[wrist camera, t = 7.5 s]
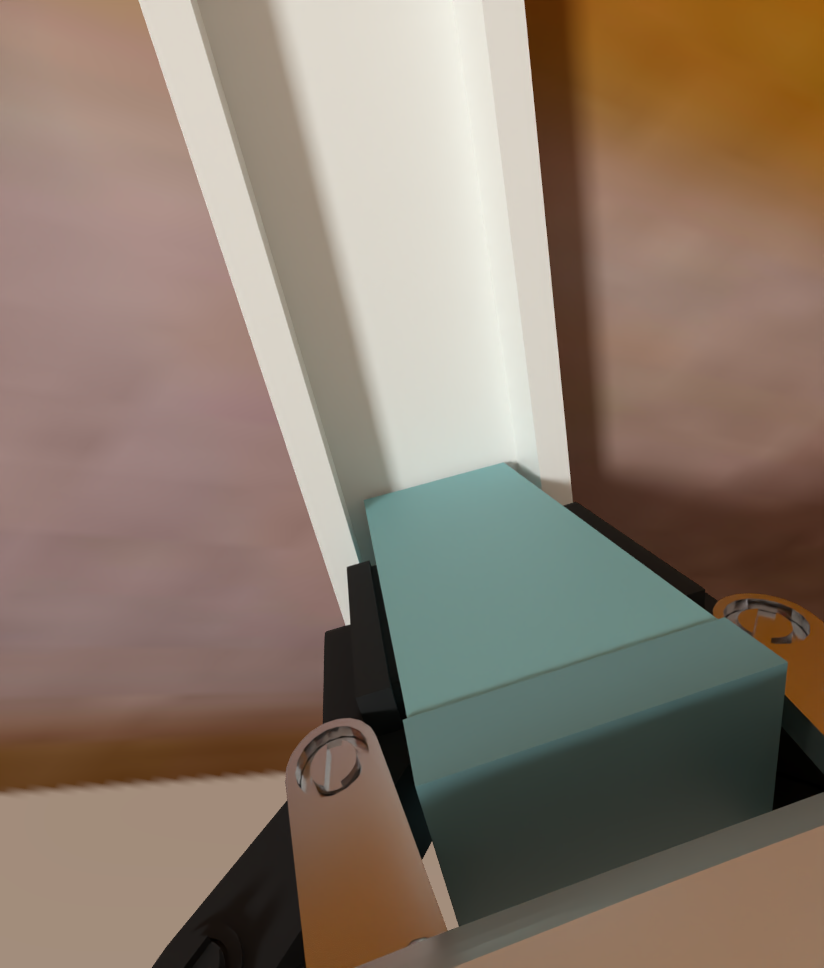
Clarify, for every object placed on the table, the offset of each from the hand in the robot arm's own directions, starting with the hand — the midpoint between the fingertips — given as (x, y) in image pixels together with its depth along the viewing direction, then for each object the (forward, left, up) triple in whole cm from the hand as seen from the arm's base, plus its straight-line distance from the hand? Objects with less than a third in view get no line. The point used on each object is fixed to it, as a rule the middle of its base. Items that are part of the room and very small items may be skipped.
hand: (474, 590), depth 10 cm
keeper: (0, 0, -2) cm, 2 cm away
